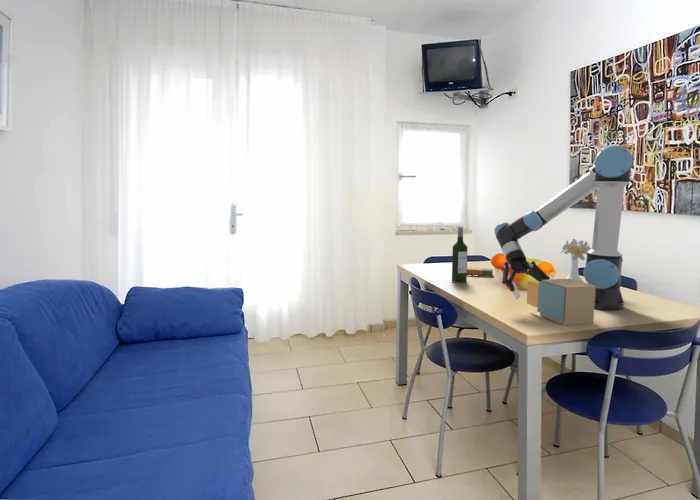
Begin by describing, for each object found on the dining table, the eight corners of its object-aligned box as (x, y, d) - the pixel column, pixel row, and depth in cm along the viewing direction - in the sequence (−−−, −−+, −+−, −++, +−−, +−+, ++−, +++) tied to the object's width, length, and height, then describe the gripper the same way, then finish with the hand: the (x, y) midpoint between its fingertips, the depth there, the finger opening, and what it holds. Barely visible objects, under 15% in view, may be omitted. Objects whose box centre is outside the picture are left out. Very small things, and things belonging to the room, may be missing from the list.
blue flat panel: (528, 306, 173) (529, 277, 171) (563, 321, 153) (565, 288, 151) (526, 306, 173) (527, 277, 171) (561, 321, 152) (563, 288, 151)
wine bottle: (459, 279, 238) (460, 226, 234) (469, 282, 231) (471, 227, 227) (448, 281, 234) (449, 226, 230) (459, 283, 227) (460, 227, 223)
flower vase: (566, 294, 201) (569, 241, 198) (554, 286, 219) (557, 238, 216) (596, 295, 199) (599, 242, 196) (581, 286, 217) (584, 238, 214)
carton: (464, 273, 258) (464, 267, 257) (492, 275, 252) (492, 268, 252) (463, 276, 250) (463, 269, 249) (492, 277, 245) (492, 270, 244)
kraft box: (566, 313, 169) (568, 278, 167) (593, 323, 155) (595, 285, 153) (539, 314, 166) (541, 279, 165) (564, 325, 153) (566, 287, 151)
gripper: (536, 258, 186) (556, 300, 174) (483, 260, 182) (501, 303, 169) (544, 248, 180) (566, 290, 168) (490, 249, 176) (508, 293, 163)
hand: (533, 296), depth 168 cm, fingers open, 13 cm apart
